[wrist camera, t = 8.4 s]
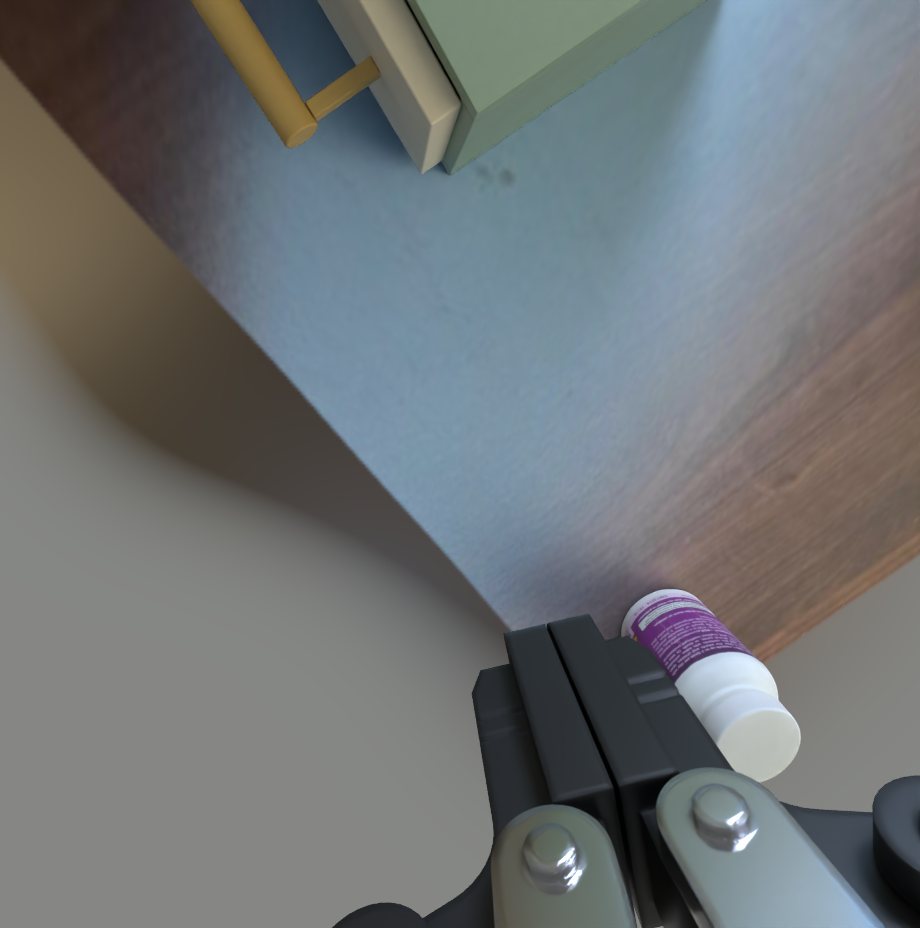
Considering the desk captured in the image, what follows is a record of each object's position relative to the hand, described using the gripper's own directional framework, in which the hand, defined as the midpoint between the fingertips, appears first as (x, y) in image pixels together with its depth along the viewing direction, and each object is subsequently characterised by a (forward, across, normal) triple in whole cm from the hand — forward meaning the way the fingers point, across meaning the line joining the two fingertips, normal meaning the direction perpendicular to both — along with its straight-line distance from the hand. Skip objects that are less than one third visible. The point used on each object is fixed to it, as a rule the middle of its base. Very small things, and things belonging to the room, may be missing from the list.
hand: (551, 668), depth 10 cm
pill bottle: (+21, -9, +15) cm, 27 cm away
